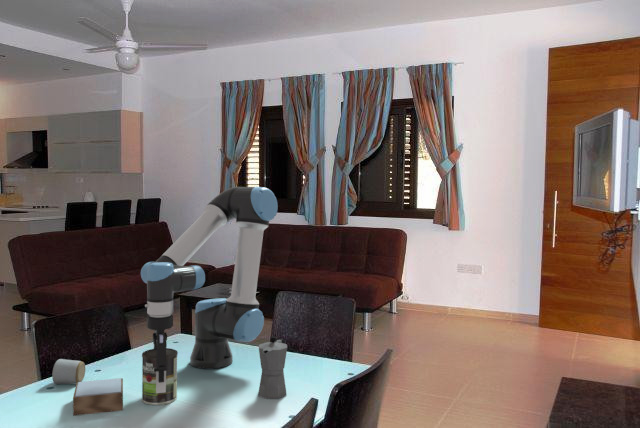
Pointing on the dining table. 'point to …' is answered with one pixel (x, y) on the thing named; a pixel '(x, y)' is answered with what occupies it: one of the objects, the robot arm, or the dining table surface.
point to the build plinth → (98, 396)
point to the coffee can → (150, 378)
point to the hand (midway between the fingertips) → (159, 384)
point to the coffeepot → (272, 369)
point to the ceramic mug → (68, 371)
